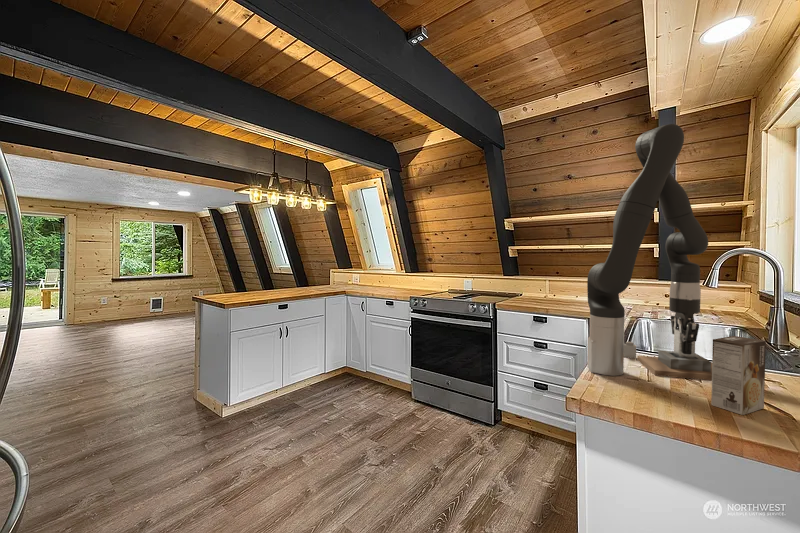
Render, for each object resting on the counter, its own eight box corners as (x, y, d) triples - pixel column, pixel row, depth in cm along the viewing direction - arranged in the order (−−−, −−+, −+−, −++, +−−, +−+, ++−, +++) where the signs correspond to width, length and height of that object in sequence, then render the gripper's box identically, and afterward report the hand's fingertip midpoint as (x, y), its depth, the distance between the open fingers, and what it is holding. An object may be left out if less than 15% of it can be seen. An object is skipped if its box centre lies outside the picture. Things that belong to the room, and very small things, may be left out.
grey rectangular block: (636, 357, 128) (636, 334, 127) (635, 358, 126) (636, 335, 126) (612, 354, 132) (612, 332, 131) (612, 355, 130) (612, 332, 130)
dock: (654, 375, 109) (655, 360, 109) (637, 360, 124) (637, 346, 124) (737, 382, 103) (737, 366, 103) (708, 365, 118) (708, 351, 118)
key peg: (678, 363, 112) (679, 331, 112) (673, 360, 116) (674, 328, 116) (694, 364, 111) (695, 332, 111) (688, 361, 115) (689, 329, 114)
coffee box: (731, 398, 91) (733, 335, 91) (764, 408, 86) (767, 340, 85) (709, 405, 88) (712, 338, 87) (743, 416, 82) (746, 344, 81)
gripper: (661, 293, 121) (660, 345, 121) (680, 299, 107) (678, 357, 108) (688, 294, 118) (687, 347, 119) (711, 300, 105) (709, 359, 105)
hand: (683, 351), depth 113 cm, fingers open, 4 cm apart
